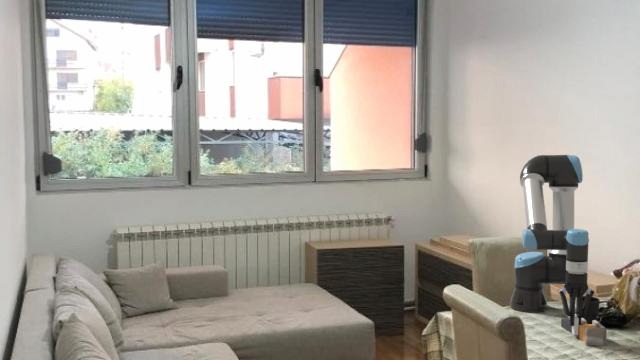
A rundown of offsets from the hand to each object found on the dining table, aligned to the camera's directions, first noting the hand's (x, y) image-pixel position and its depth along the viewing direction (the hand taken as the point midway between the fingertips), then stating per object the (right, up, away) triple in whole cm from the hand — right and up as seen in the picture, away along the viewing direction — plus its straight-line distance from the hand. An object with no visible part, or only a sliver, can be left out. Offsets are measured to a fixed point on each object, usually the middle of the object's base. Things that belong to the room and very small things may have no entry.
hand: (575, 334), depth 259 cm
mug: (+13, +1, +16) cm, 21 cm away
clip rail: (+4, -1, +2) cm, 5 cm away
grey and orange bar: (+3, -1, +4) cm, 5 cm away
